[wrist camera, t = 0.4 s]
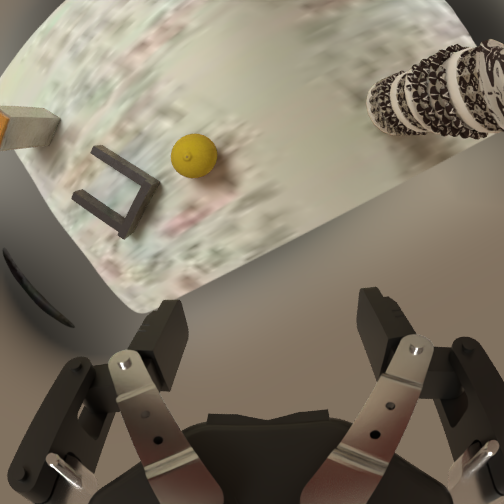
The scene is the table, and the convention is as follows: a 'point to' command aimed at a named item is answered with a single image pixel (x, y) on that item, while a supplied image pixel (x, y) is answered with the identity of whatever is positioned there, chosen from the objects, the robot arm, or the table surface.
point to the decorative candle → (444, 94)
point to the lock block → (26, 127)
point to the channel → (140, 203)
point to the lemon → (194, 155)
